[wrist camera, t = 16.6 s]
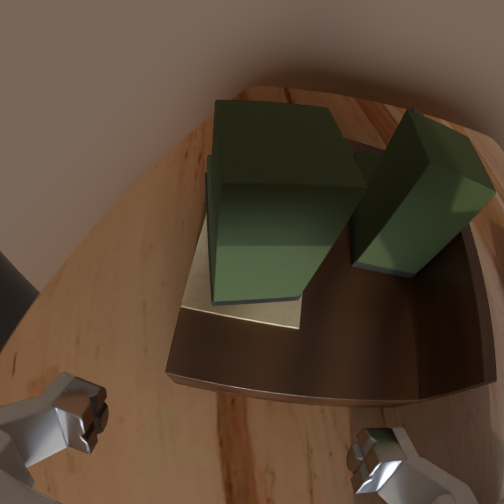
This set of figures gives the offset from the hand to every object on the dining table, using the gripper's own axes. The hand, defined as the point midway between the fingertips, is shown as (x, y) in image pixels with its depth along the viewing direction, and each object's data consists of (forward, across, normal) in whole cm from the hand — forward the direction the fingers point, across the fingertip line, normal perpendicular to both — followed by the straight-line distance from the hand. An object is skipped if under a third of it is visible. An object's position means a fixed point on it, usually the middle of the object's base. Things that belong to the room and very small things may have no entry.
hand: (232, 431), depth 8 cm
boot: (+14, +1, -4) cm, 14 cm away
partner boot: (+17, -9, -6) cm, 20 cm away
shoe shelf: (+19, -5, -2) cm, 19 cm away
